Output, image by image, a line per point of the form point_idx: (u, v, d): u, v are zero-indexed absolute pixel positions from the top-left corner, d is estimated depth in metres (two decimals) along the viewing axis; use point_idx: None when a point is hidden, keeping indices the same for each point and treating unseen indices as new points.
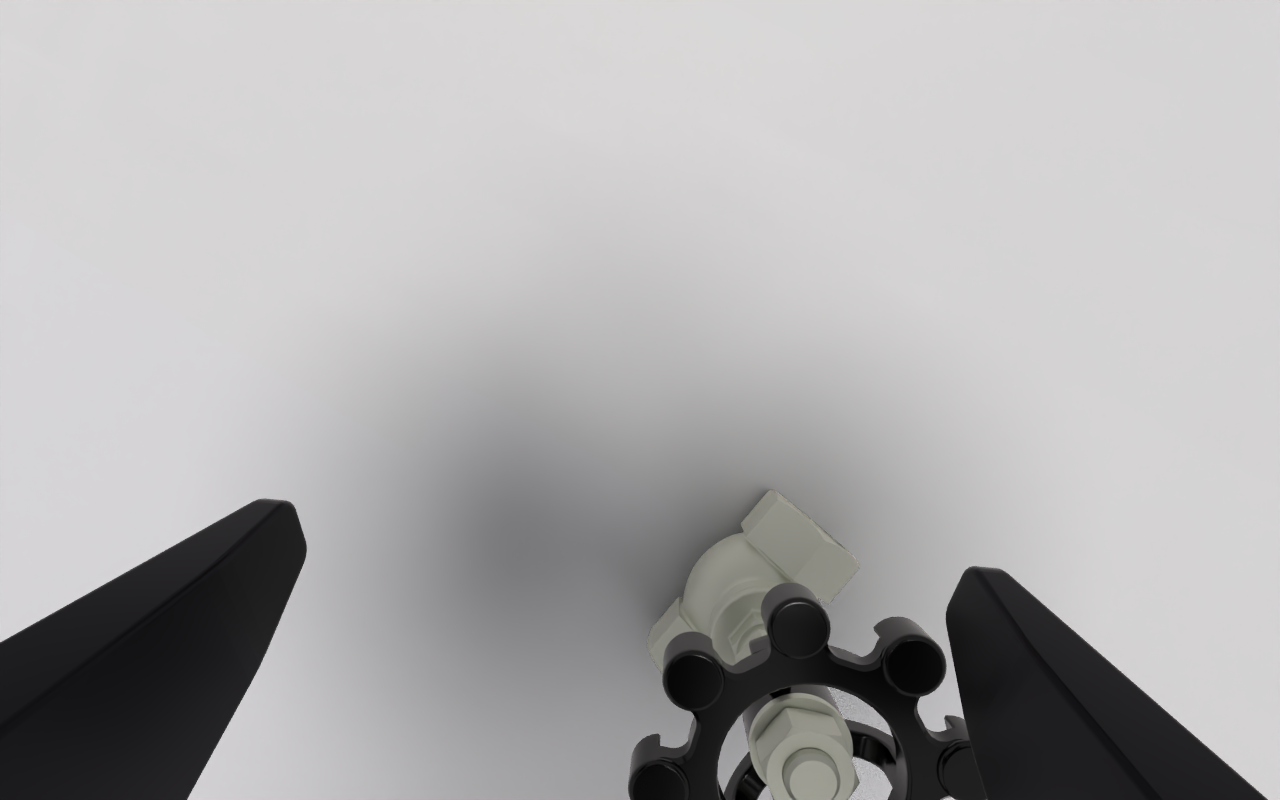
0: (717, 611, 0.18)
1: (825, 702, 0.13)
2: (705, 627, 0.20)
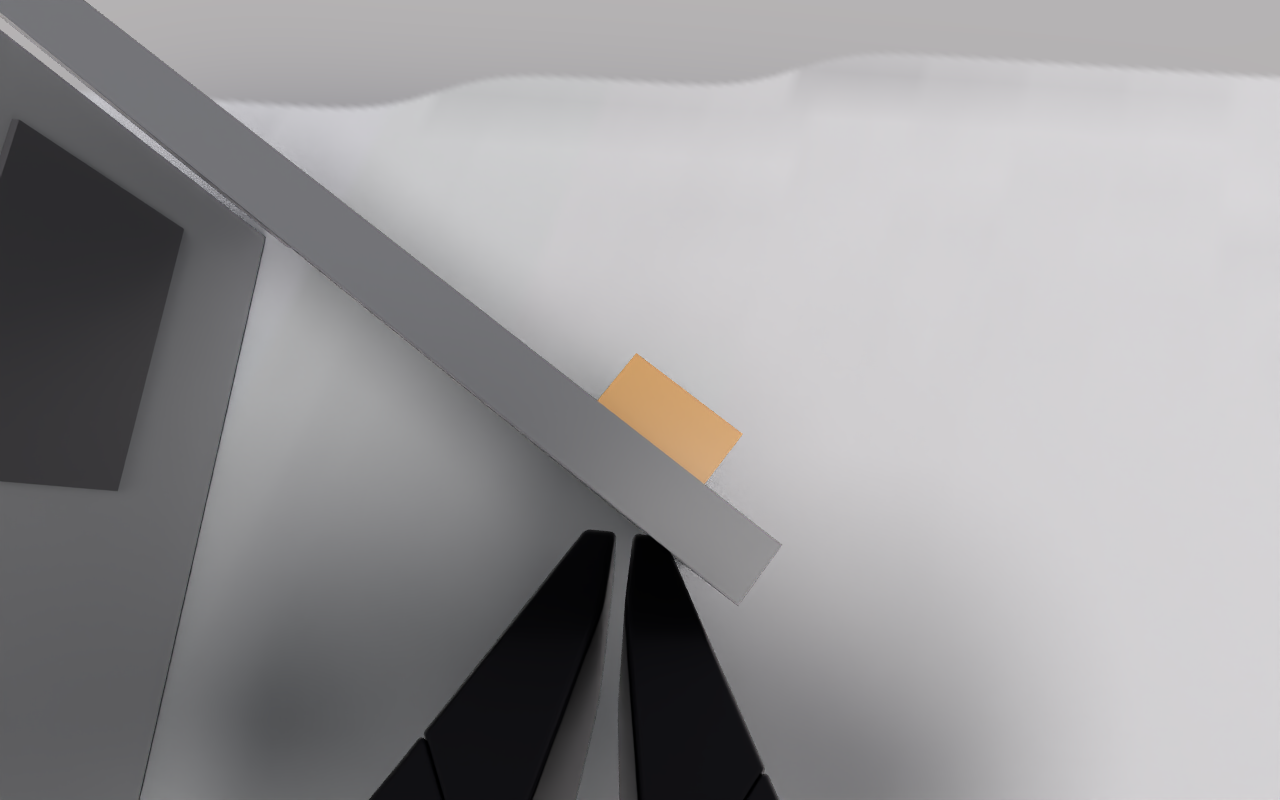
0: None
1: None
2: None
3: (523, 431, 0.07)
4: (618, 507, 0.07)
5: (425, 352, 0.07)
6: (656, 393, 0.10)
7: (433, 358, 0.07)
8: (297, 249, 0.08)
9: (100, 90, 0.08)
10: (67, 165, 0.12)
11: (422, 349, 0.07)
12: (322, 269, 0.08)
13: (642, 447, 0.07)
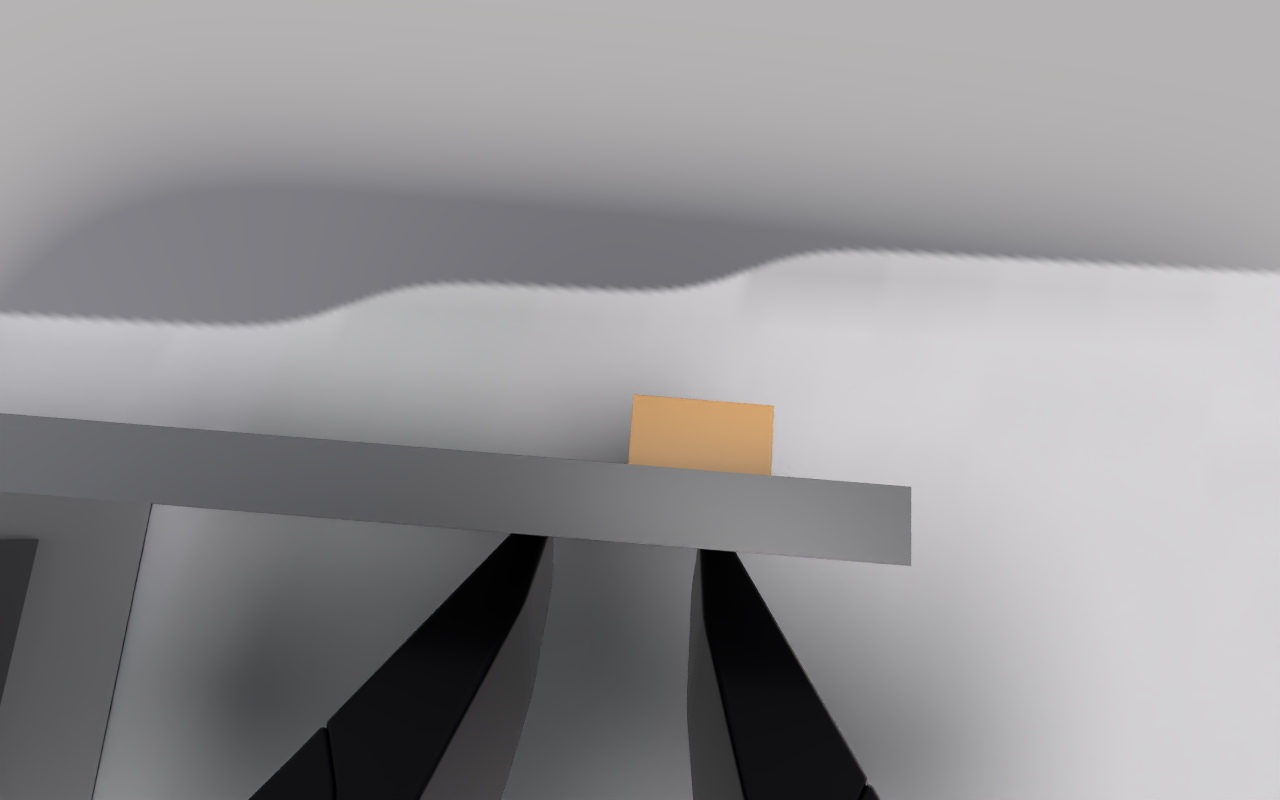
0: None
1: None
2: None
3: (617, 539, 0.07)
4: (750, 550, 0.07)
5: (473, 527, 0.07)
6: (676, 418, 0.09)
7: (486, 528, 0.07)
8: (274, 512, 0.07)
9: None
10: None
11: (468, 527, 0.07)
12: (313, 514, 0.07)
13: (734, 482, 0.07)
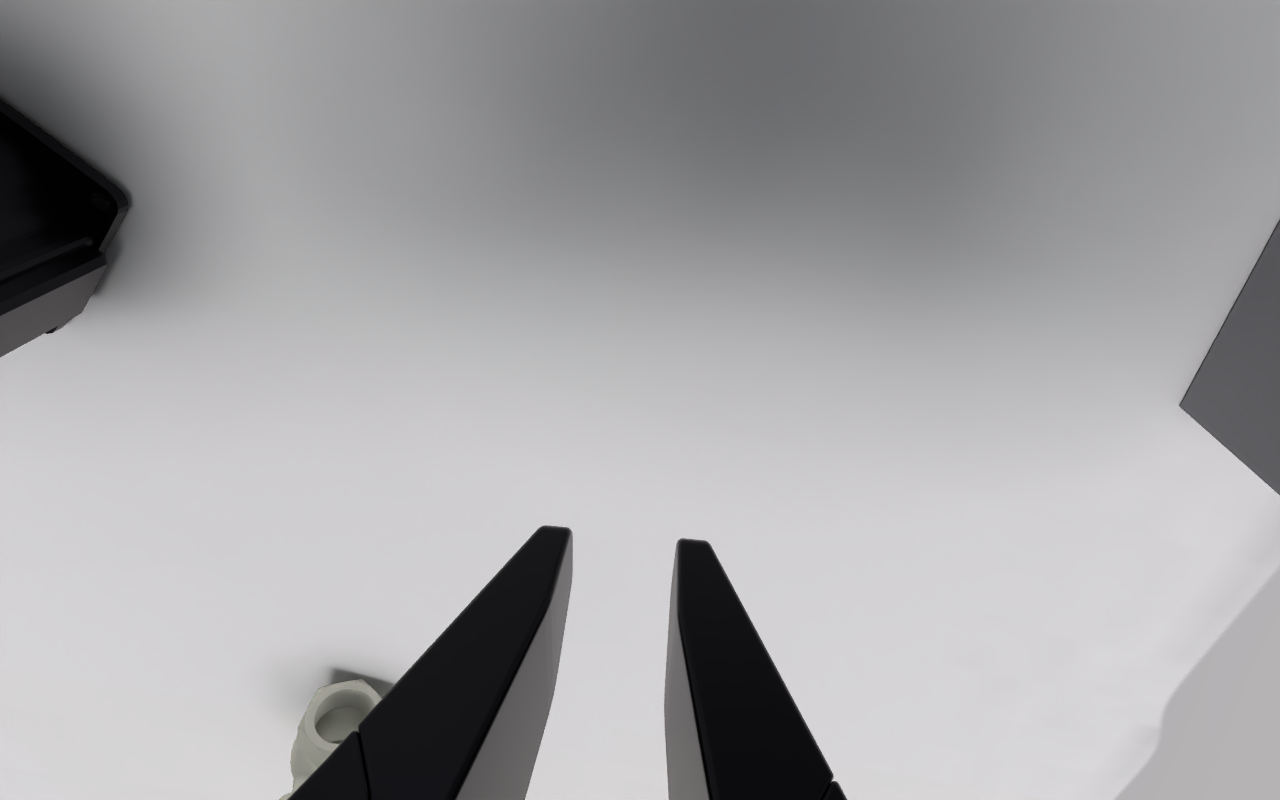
0: None
1: None
2: None
3: None
4: None
5: None
6: None
7: None
8: None
9: None
10: None
11: None
12: None
13: None
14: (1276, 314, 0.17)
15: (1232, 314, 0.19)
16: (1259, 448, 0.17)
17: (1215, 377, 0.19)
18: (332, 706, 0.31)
